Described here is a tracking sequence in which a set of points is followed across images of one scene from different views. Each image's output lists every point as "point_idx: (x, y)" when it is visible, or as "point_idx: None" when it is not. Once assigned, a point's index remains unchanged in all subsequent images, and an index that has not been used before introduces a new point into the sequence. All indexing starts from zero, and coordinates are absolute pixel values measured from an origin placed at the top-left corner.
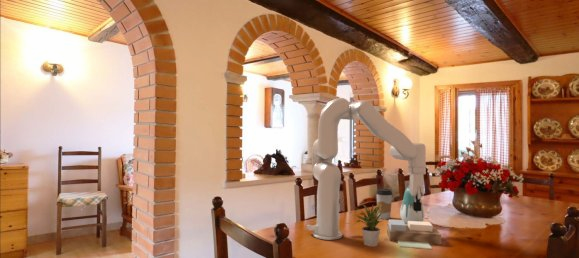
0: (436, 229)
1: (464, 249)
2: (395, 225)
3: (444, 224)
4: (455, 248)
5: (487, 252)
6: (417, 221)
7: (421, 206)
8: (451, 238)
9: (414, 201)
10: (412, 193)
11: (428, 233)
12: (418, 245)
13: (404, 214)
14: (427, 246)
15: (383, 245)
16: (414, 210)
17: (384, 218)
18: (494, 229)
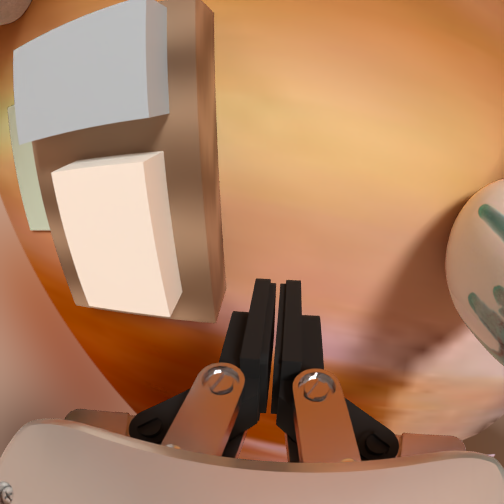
0: (160, 317)
1: (90, 332)
2: (17, 77)
3: (443, 365)
4: (84, 311)
5: (101, 372)
6: (150, 240)
7: (494, 356)
8: (212, 344)
9: (237, 373)
10: (18, 449)
11: (63, 255)
12: (33, 183)
13: (500, 201)
14: (39, 217)
15: (13, 43)
16: (256, 283)
17: None
18: None
